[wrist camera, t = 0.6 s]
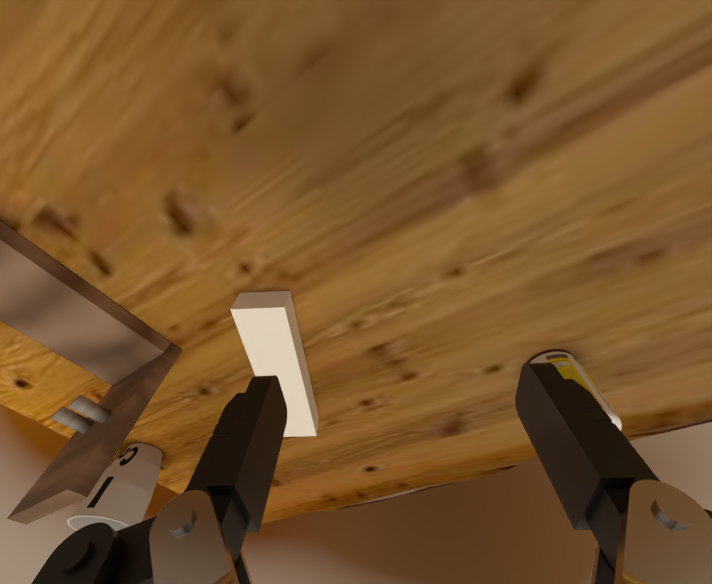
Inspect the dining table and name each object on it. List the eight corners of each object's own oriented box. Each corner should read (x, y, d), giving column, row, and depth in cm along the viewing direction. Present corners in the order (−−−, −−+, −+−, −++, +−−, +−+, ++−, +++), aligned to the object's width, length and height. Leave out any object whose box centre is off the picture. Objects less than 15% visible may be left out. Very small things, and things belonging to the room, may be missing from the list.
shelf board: (240, 290, 31) (230, 309, 29) (290, 288, 31) (284, 307, 29) (282, 415, 43) (278, 436, 41) (319, 415, 43) (316, 435, 41)
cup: (136, 431, 46) (87, 510, 38) (183, 455, 50) (148, 532, 41) (107, 448, 49) (55, 524, 41) (153, 469, 52) (115, 544, 44)
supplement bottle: (512, 373, 37) (555, 463, 28) (547, 342, 34) (607, 432, 26) (549, 387, 38) (600, 477, 30) (586, 358, 35) (655, 449, 27)
